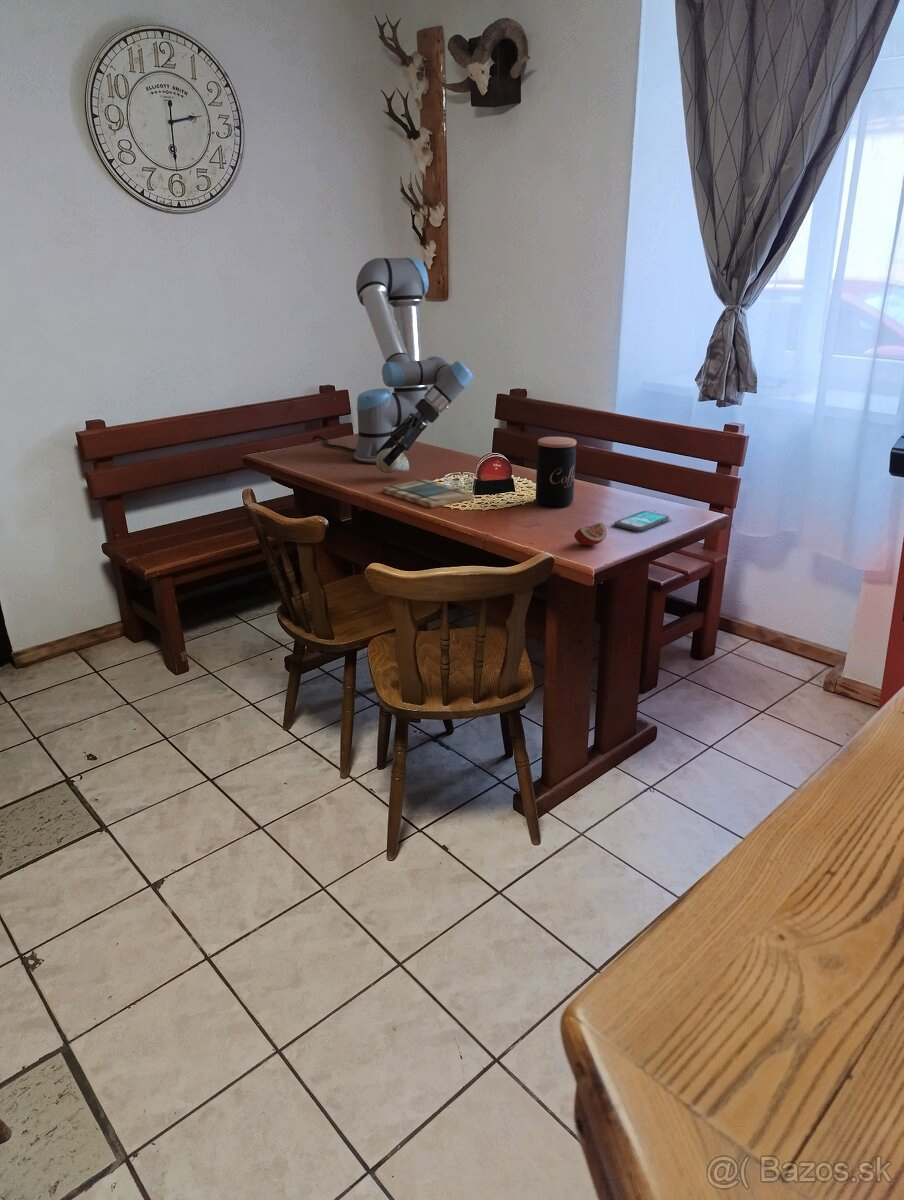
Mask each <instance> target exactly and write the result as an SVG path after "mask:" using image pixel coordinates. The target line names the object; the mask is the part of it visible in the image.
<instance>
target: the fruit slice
mask: <svg viewBox="0 0 904 1200" xmlns="http://www.w3.org/2000/svg"><path fill="white" fill-rule="evenodd" d="M607 534H608V533H607V529H606V527H605V525H604V524H603V522H599V523H595V524H593V525H592V526H590V525H587V526H583V527H580V528H578V530H576V532H575V533H574V535H573V537H574V539H575V540H576V541H577V543H579V544H581V545H583V546H596V545H598V544H601V542H603V541H604V540H605V539H606V537H607Z"/></svg>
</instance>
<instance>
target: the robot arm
mask: <svg viewBox="0 0 904 1200" xmlns="http://www.w3.org/2000/svg"><path fill="white" fill-rule="evenodd" d="M429 283H430V282H429V276H428V271H427V268H426V266H425V264H424V263H423V261H422V260H420V259H418V258H413V257H385V258H384V257H376V258H373V259H370V260H369V261H366V263H365V264H363V266H362V268H360V270H359V271H358V275H357V278H356V283H355V291H356V296H357V297H358V301H359V303H360V305H362V306H363V307H364V308H365V311H366V313H367V316H368V319H369V322H370V324H371V327H372V330H373V332H374V335H375V338H376V340H377V343H378V346H379V349H380V352H381V354H382V358H383V360H384V362H385V363H383V364H382V367H381V376H382V381H383V383H384V385H385V386H386V387H388V388H385V387H384V388H383V387H382V388H373V389H369V390H368V389H367V390H365V391H363V392H360V393H359V394H358V395H357V398H356V399H357V400H356V401H357V402H356V411H357V431H358V433H357V434H358V437H357V438H358V439H357V442H356V446H355V448H351V447H348V446H345V445H341V444H331V443H329V440H328V439H327V438H326V437H323V436H322V435H318V434H316V435H313V437H312V438H311V439H312V440H316V439H320V440H322V441H324V443H323V444H324V446H325V447H327V448H328V447H329V448H338V449H342V450H346V451H349V452H354V454H353V458H354V461H355V462H357V463H359V464H366V465H367V464H368V465H369V464H370V465H376V458H377V455H378V454H379V452H381V451H382V450H384V449H388V448H393V449H392V450H391V451H390V452H389V454H388V455H387V456H386V457H385V458H384V459H383V460H382V461H383V462H385V463H386V464H387V465H388V466H390V465H391V464H392V463H393V462H394V461H395V460H396V459H397V458H398V456H399V455H400V454H401V453H404V452H405V451H409V450H410V448H411V447H412V445H414V443H415V441H417V439H418V438H419V436H420V435H421V434H422V433H423V432H424V431H425V429H426V428H427V427H428V425H427V424H428V423H431V424H433V423H434V422H435V421H436V420H437V419H438V418H439V417H440V413H441V414H442V413H443V412H444V411H445V410H448V409H449V406H450V404H452V402H454V400H455V399H456V398H457V397H458V396H459V395H460V394H461V393H462V392H463V391H464V390H465V389H466V388H467V386H468V385H469V383H471V381H472V380H473V377H474V375H473V373H472V372H471V371H470V369H469V368H468V367H467V366H465V364H464V363H462V362H461V361H460V360H455V361H454V362H453V363H449V362H448V361H447V360H446V359H444V358H442V357H440V356H438V355H430V356H428V357H427V358H426V359H422V345H421V327H420V326H421V325H420V309H419V307H420V305H421V303H422V302H423V300H424V298H423V297H424V296H425V295H427V293H428V290H429ZM391 307H392V308H391ZM428 386H431V387H430V388H428ZM390 388H393V392H392V390H391V389H390Z"/></svg>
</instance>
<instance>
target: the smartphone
mask: <svg viewBox="0 0 904 1200" xmlns="http://www.w3.org/2000/svg"><path fill="white" fill-rule="evenodd" d="M669 520H670V516H669V515H666V514H661V513H657V512H653V511H649V510H641V511H639V512H637V513H634V514H631V515H627V516H626V517H623V518H621V519H618V520H615V522H614V526H615V527H619V528H622V529H626V530H629V531H633V532H644V531H646V530H649V529H651V528H654V527H656V526H659V525H661V524H664V523H666V522H668V521H669Z"/></svg>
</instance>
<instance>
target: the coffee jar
mask: <svg viewBox="0 0 904 1200" xmlns="http://www.w3.org/2000/svg"><path fill="white" fill-rule="evenodd" d="M577 443H578V442H577V439H574V438H573V437H567V436H544V437H540V438H539V439H538V440H537V444H538V446H539V447H537V450H536V476H535V477H536V478H535V501H536V503H537V504H538V505H539V506H541V507H545V508H550V509H561V508H567V507H570V506H571V504H572V503H573V501H574V495H575V493H574V492H575V477H576V458H577V449H576V447H575V446H576V445H577Z"/></svg>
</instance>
